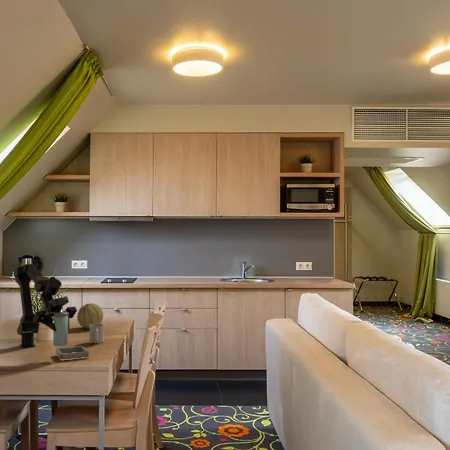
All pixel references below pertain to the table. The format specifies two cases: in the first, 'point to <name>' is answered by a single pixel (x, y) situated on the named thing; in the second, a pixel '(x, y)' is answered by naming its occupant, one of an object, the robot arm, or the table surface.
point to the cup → (96, 333)
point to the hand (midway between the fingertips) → (62, 329)
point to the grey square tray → (79, 353)
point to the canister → (60, 328)
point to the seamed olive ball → (89, 315)
